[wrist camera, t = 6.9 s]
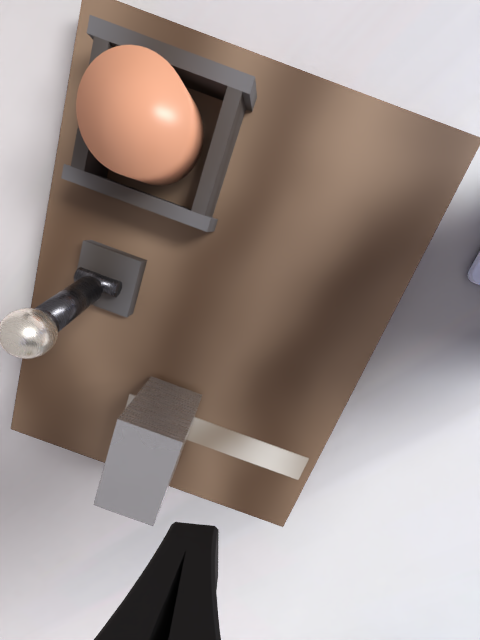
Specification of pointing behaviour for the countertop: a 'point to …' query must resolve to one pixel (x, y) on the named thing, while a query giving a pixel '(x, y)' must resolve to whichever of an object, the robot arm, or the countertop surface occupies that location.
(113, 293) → the toggle lever
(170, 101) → the push button
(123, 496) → the gray rectangular block
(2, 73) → the countertop surface
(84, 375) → the control panel
